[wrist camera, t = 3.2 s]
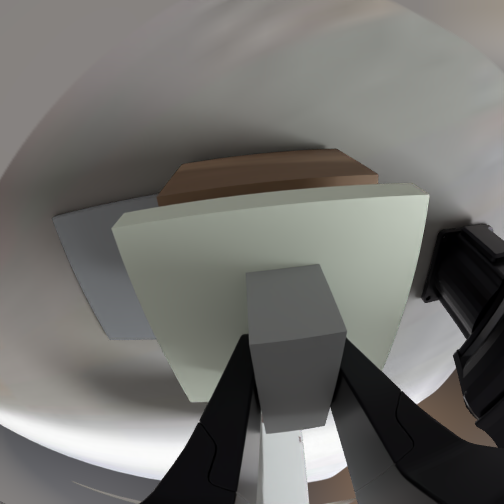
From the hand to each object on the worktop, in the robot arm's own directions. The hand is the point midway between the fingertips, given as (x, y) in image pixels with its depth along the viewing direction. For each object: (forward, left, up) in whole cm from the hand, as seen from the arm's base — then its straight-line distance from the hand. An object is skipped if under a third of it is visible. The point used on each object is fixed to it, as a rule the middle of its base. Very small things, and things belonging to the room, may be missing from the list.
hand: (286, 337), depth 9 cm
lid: (0, 0, -1) cm, 1 cm away
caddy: (0, 0, -8) cm, 8 cm away
